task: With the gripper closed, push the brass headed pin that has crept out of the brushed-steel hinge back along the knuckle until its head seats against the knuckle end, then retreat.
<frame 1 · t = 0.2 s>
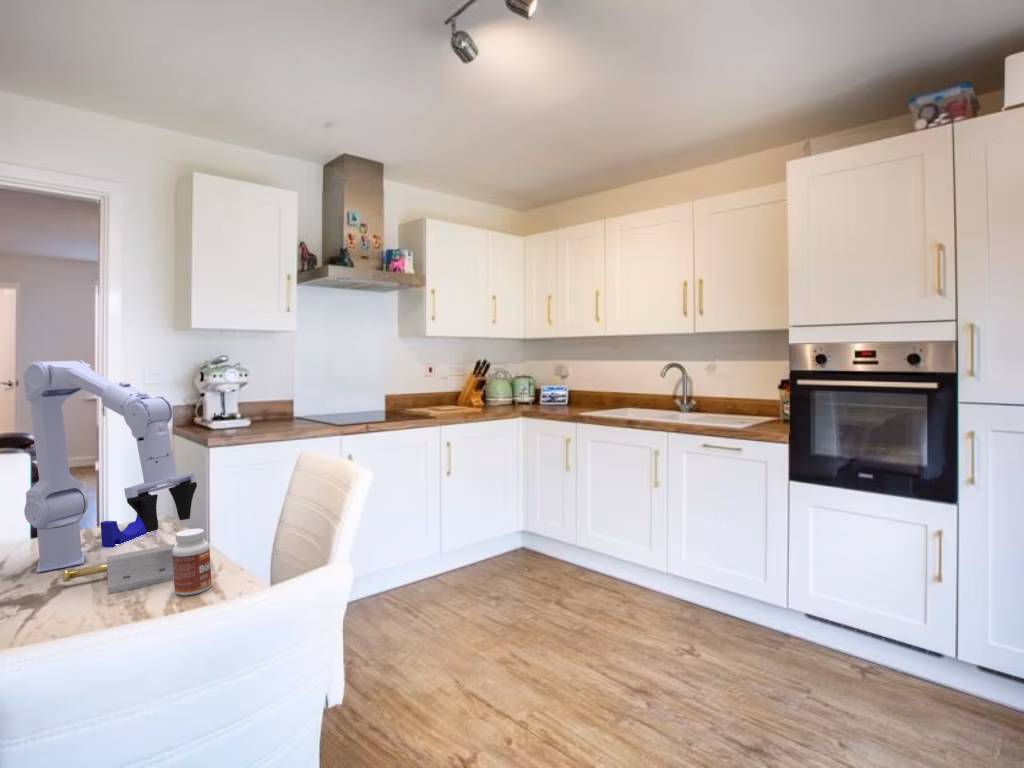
hand: (169, 524, 117), 10 cm above the table, tool pointing down, fingers open, 7 cm apart
steel hinge: (143, 570, 121), on the table
blue u-shaped cradle block: (126, 540, 143), on the table
brass headed pin: (104, 568, 117), point 2 cm above the table, slide at 6.0 cm
pill bottle: (193, 590, 110), on the table
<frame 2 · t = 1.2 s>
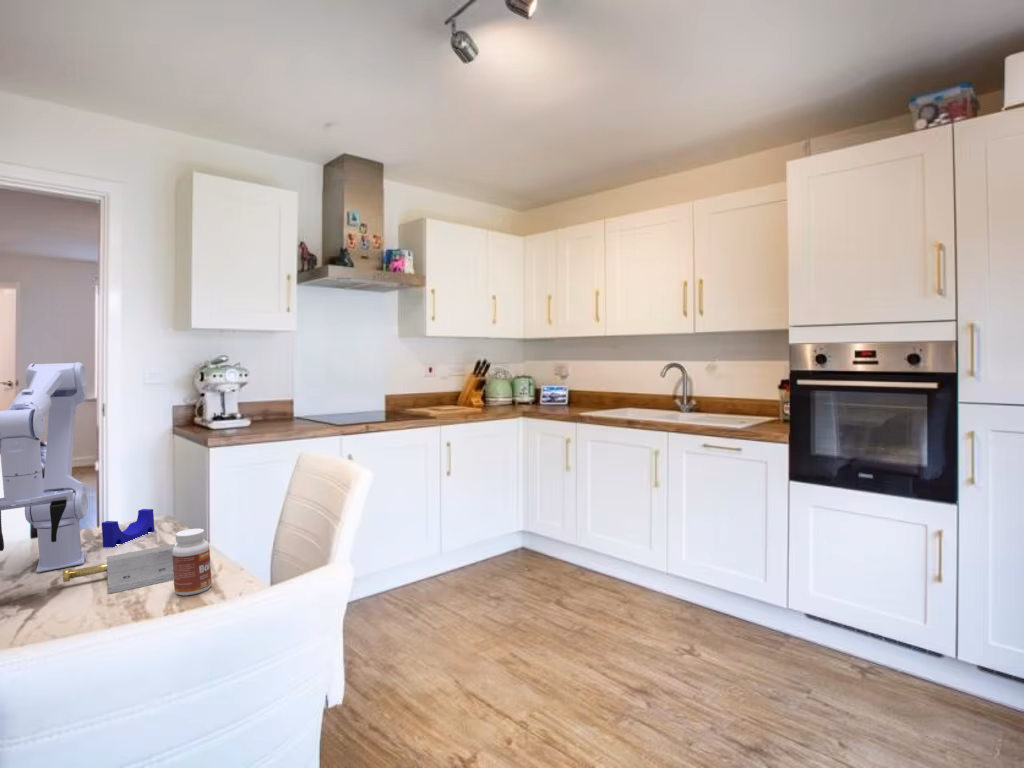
hand: (28, 545, 110), 9 cm above the table, tool pointing down, fingers open, 7 cm apart
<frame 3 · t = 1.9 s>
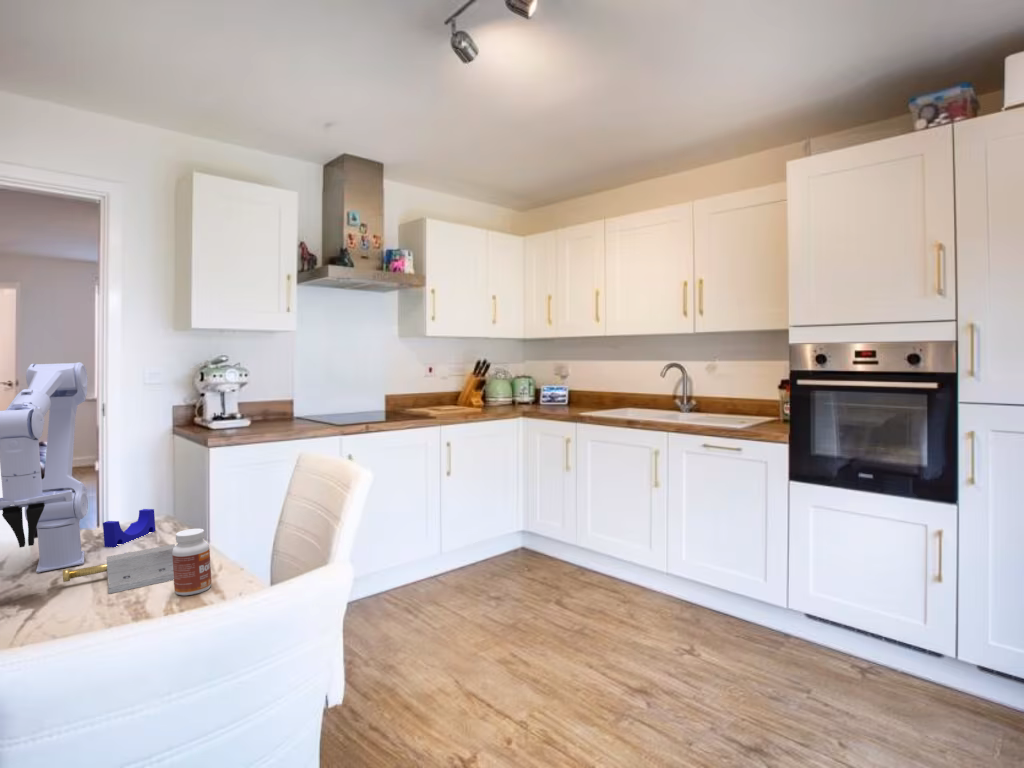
hand: (26, 545, 110), 9 cm above the table, tool pointing down, fingers closed
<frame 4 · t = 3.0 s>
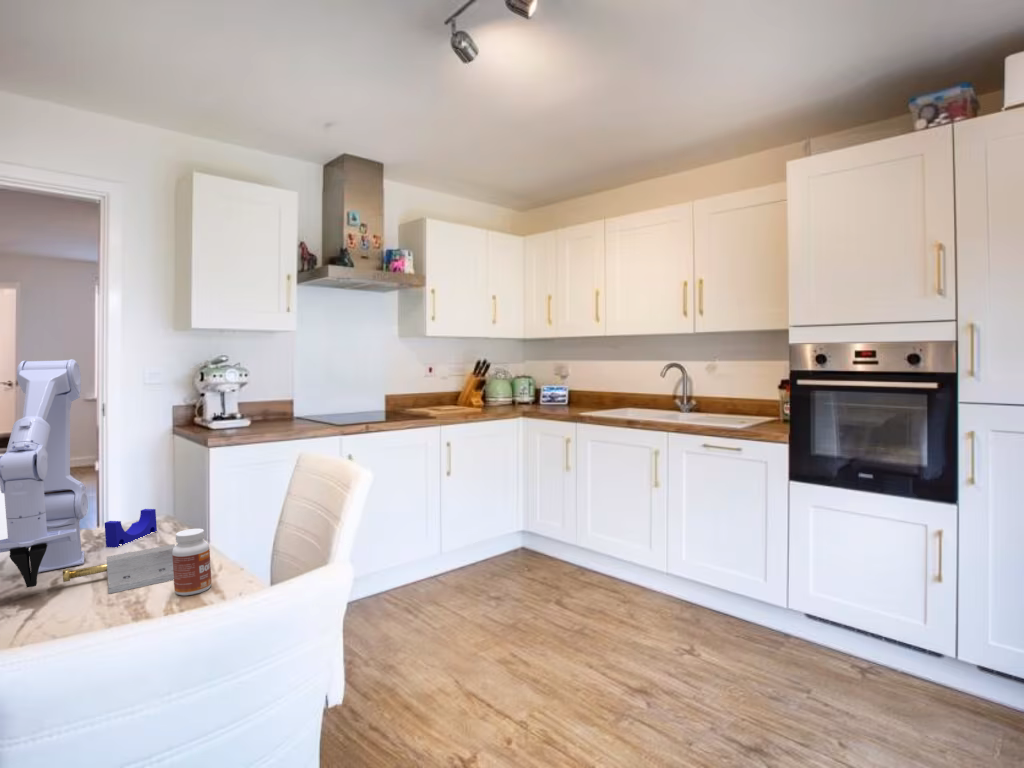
hand: (31, 585, 110), 2 cm above the table, tool pointing down, fingers closed
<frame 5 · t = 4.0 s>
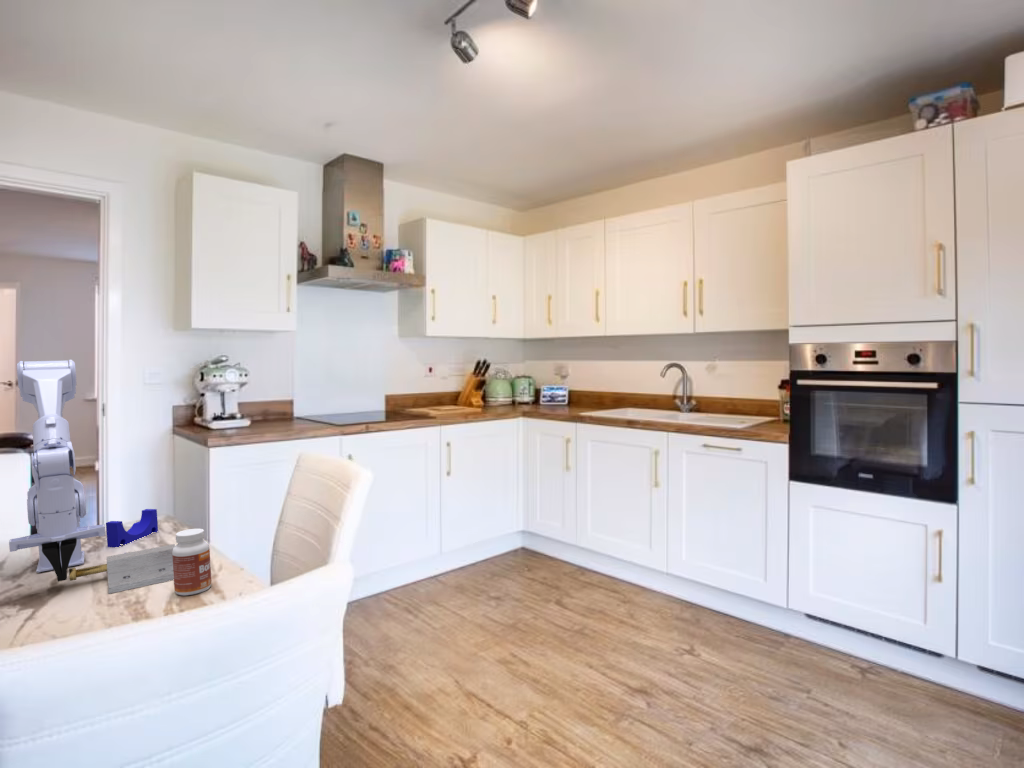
hand: (62, 579, 113), 2 cm above the table, tool pointing down, fingers closed
brass headed pin: (110, 566, 117), point 2 cm above the table, slide at 5.0 cm, touching gripper
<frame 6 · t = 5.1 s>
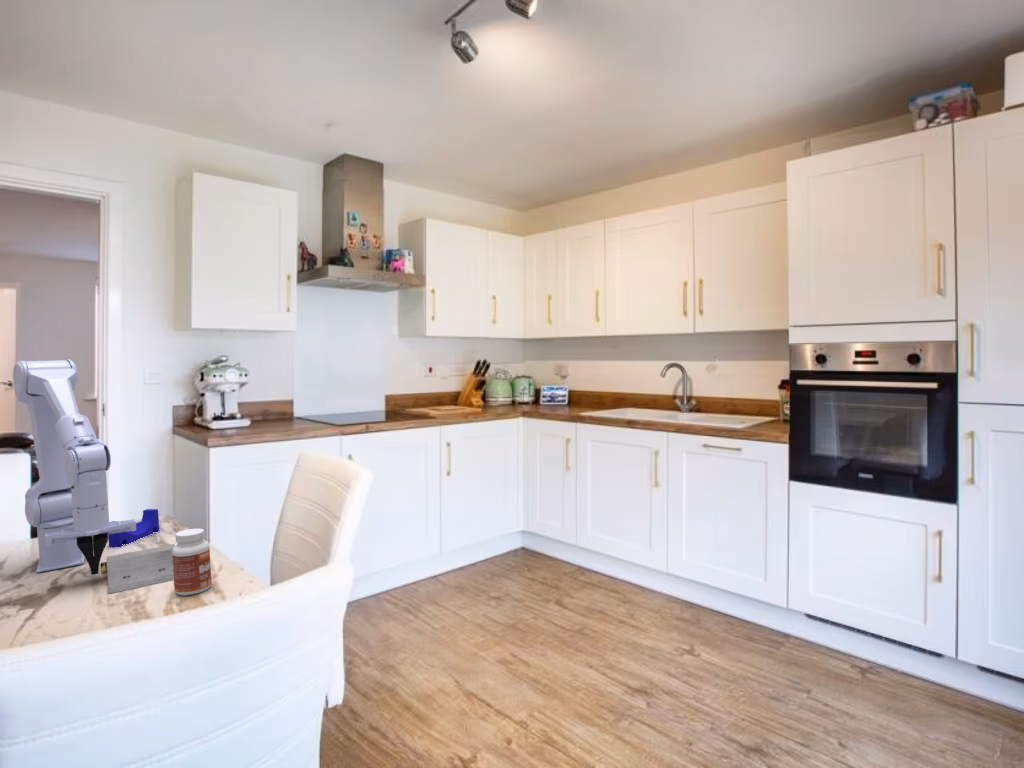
hand: (95, 572, 116), 2 cm above the table, tool pointing down, fingers closed
brass headed pin: (139, 561, 120), point 2 cm above the table, slide at 0.0 cm, touching gripper, steel hinge
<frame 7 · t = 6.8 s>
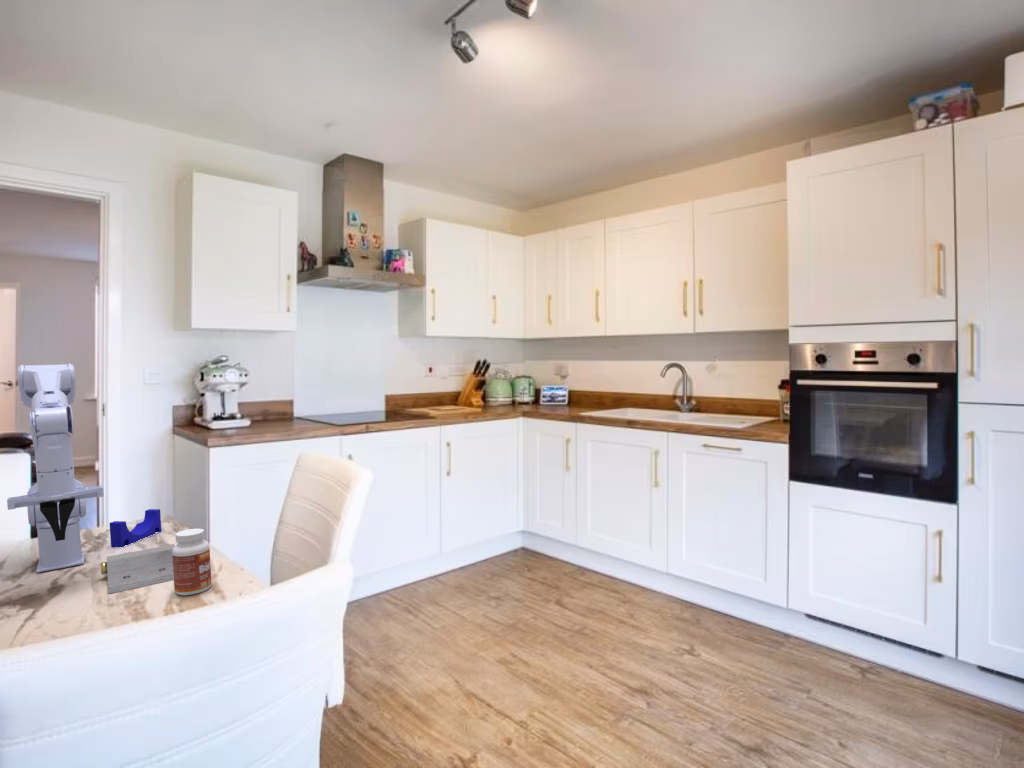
hand: (60, 539, 113), 9 cm above the table, tool pointing down, fingers closed
brass headed pin: (139, 561, 120), point 2 cm above the table, slide at 0.0 cm, touching steel hinge
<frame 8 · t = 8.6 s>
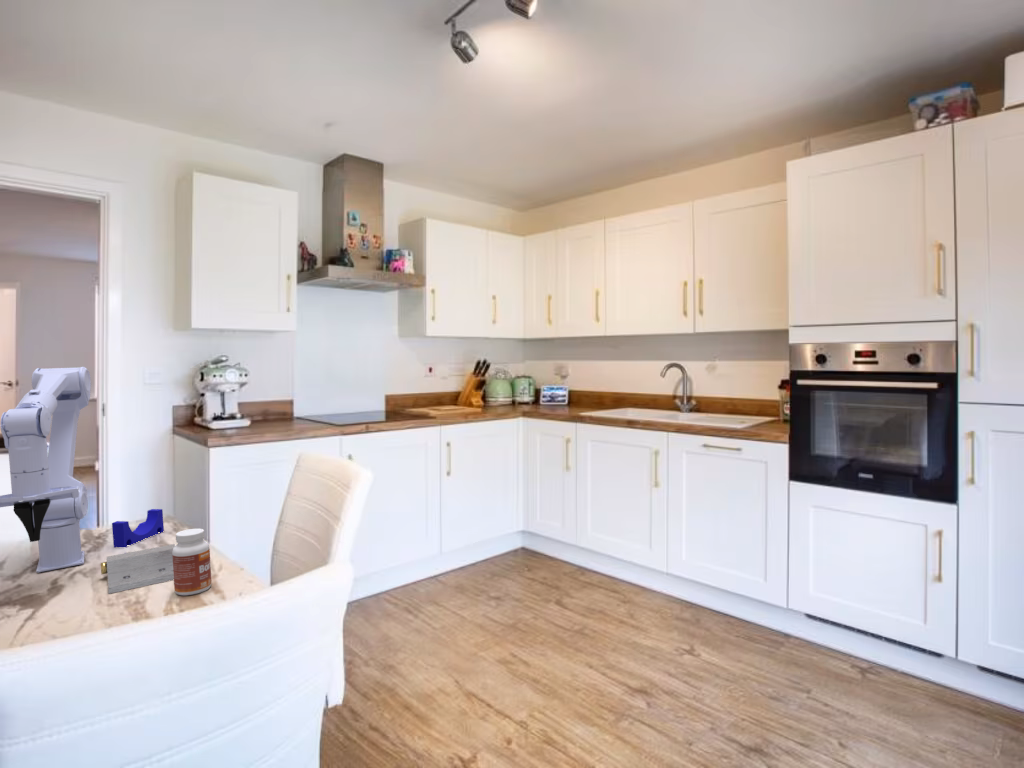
hand: (35, 540, 113), 9 cm above the table, tool pointing down, fingers closed
at the end: brass headed pin slide at 0.0 cm; brass headed pin touching steel hinge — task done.
